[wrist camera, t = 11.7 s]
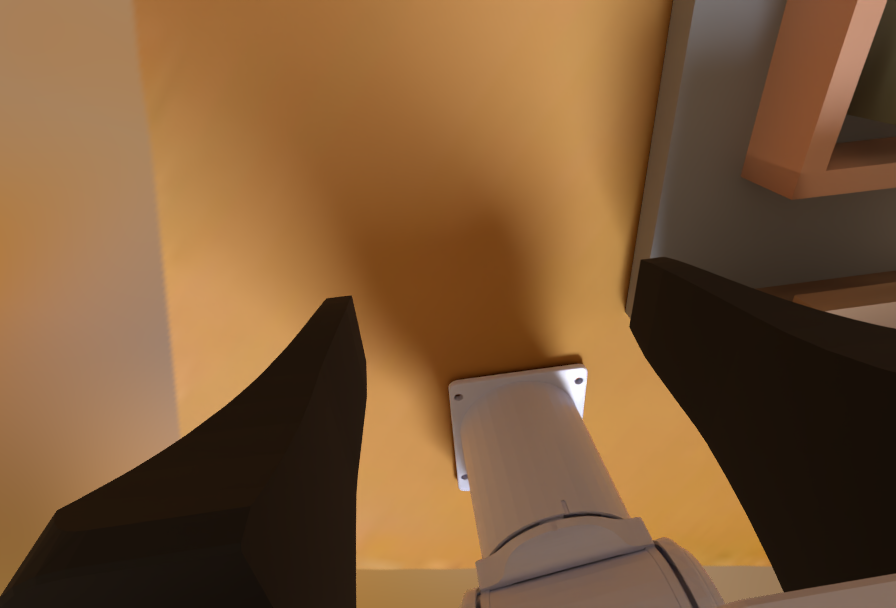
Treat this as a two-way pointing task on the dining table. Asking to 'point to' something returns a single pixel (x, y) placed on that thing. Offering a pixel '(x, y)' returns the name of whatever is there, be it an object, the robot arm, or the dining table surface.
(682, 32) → the socket stand
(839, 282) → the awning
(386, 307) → the dining table surface
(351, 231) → the dining table surface
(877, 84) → the peg
